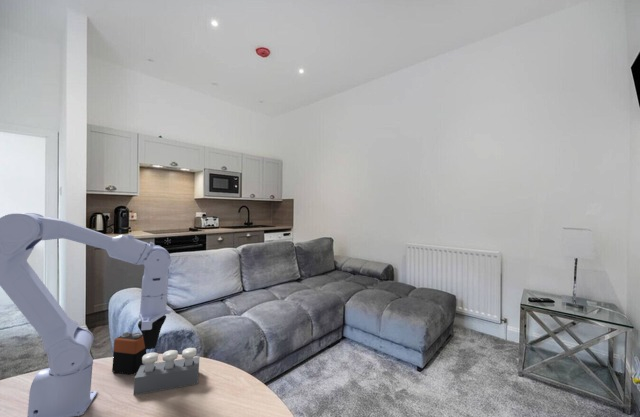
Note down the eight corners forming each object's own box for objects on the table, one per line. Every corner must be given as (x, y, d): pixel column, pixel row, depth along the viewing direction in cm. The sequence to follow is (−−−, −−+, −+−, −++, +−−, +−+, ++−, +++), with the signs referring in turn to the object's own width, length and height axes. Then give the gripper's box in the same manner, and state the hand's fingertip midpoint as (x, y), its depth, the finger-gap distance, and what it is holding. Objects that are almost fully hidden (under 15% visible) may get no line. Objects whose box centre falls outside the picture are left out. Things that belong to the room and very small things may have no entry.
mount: (133, 395, 64) (134, 377, 64) (139, 380, 69) (140, 364, 70) (197, 383, 69) (198, 368, 69) (198, 371, 75) (199, 356, 75)
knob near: (139, 381, 65) (140, 360, 66) (142, 374, 69) (144, 353, 69) (155, 379, 67) (156, 358, 67) (158, 371, 70) (159, 351, 70)
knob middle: (160, 378, 67) (161, 357, 67) (162, 371, 70) (164, 351, 70) (175, 376, 68) (176, 355, 69) (177, 369, 72) (178, 349, 72)
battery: (133, 375, 71) (136, 337, 72) (110, 373, 72) (113, 335, 73) (146, 367, 76) (148, 331, 76) (124, 364, 77) (127, 329, 77)
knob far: (180, 375, 69) (181, 354, 69) (181, 368, 72) (183, 348, 72) (194, 373, 70) (196, 352, 70) (195, 366, 73) (196, 346, 73)
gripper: (167, 301, 63) (163, 359, 63) (175, 286, 77) (172, 334, 76) (132, 303, 61) (128, 364, 60) (147, 287, 74) (143, 337, 74)
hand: (150, 347), depth 68 cm, fingers closed
